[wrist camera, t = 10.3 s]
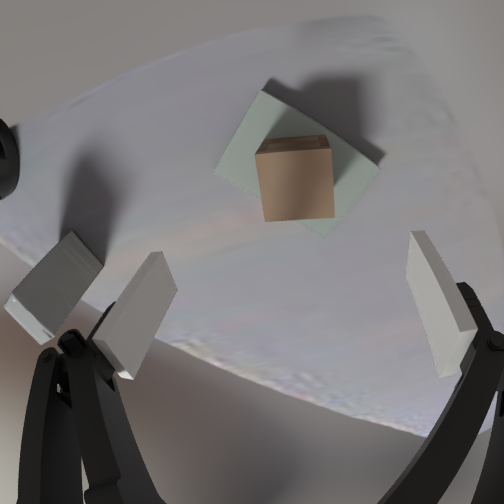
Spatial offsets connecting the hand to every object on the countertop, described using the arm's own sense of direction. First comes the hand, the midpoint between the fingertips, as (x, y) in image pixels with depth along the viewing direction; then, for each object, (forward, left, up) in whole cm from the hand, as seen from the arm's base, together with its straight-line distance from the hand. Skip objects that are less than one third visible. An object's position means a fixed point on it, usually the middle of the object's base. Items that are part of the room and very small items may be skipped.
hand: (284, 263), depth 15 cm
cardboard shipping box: (0, 0, -16) cm, 16 cm away
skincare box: (-21, -29, -18) cm, 40 cm away
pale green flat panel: (0, 0, -18) cm, 18 cm away
